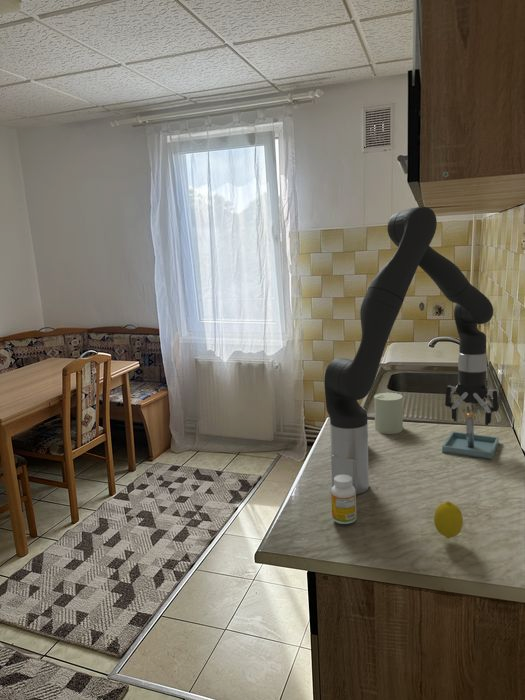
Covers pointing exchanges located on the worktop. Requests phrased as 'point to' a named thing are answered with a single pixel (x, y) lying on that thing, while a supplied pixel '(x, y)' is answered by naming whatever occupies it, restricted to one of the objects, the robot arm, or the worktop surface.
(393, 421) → the can
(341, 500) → the supplement bottle
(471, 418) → the orange-topped grey cylinder
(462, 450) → the tray
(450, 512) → the lemon
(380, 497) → the worktop surface
